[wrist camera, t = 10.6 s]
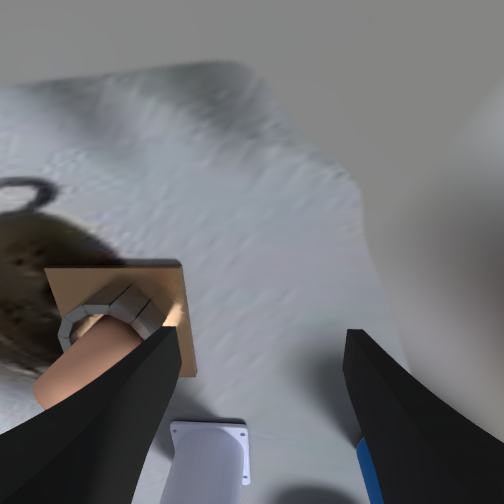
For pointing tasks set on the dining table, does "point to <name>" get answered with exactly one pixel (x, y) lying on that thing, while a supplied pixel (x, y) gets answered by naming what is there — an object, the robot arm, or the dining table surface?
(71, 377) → the rail post
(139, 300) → the cup bracket
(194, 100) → the dining table surface
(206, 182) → the dining table surface
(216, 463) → the robot arm
